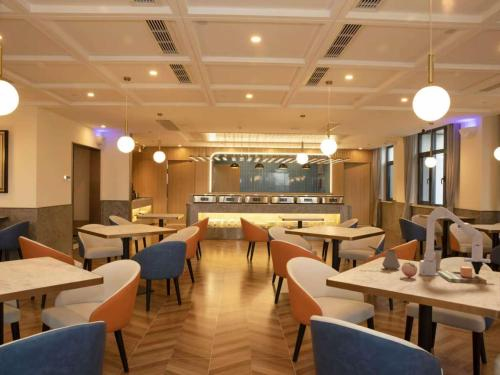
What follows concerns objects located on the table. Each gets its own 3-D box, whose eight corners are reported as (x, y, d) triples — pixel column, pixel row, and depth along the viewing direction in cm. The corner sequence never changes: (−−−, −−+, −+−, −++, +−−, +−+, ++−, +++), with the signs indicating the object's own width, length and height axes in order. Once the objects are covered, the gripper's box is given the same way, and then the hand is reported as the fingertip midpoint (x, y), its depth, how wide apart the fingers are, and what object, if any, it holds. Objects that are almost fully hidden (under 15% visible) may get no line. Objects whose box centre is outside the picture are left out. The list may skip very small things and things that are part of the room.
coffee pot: (399, 268, 274) (400, 246, 274) (400, 271, 263) (400, 248, 264) (367, 265, 282) (368, 244, 282) (366, 268, 271) (367, 246, 271)
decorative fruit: (420, 278, 242) (420, 262, 242) (411, 279, 238) (412, 263, 238) (407, 275, 250) (407, 259, 250) (398, 276, 246) (399, 260, 246)
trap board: (449, 281, 234) (449, 278, 234) (437, 273, 257) (437, 270, 257) (486, 283, 231) (486, 280, 231) (471, 275, 254) (471, 272, 254)
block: (463, 276, 241) (463, 267, 241) (460, 274, 246) (460, 266, 246) (472, 276, 241) (472, 268, 241) (468, 274, 246) (469, 266, 246)
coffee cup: (444, 269, 271) (444, 247, 271) (429, 269, 273) (429, 247, 273) (440, 267, 280) (440, 245, 280) (426, 266, 282) (426, 245, 282)
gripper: (466, 252, 240) (466, 274, 240) (492, 253, 238) (492, 276, 237) (462, 250, 247) (462, 272, 247) (487, 251, 244) (487, 273, 244)
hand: (476, 274), depth 243 cm, fingers closed
